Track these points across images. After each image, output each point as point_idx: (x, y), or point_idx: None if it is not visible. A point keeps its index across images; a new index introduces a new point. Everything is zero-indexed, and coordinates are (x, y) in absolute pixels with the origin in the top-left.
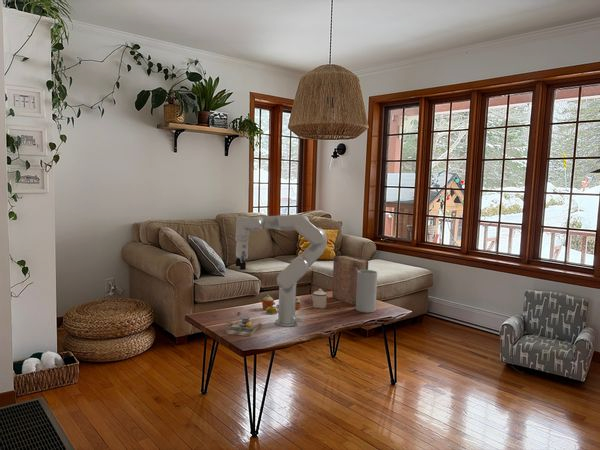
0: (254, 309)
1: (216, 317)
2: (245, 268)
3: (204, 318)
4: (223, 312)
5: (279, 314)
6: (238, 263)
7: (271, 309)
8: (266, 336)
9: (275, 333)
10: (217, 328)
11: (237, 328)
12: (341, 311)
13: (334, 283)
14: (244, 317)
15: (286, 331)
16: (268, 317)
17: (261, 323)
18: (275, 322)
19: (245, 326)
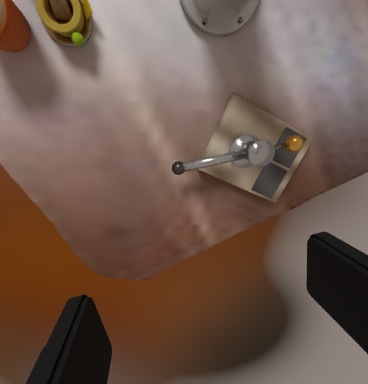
0: (20, 93)
1: (133, 226)
2: (334, 238)
3: (142, 255)
4: (76, 209)
5: (242, 2)
6: (94, 368)
7: (82, 15)
8: (321, 94)
9: (307, 59)
10: (230, 219)
11: (270, 173)
12: None
13: None
14: (264, 157)
15: (300, 13)
16: (137, 49)
17: (235, 94)
18: (213, 34)
19: None
